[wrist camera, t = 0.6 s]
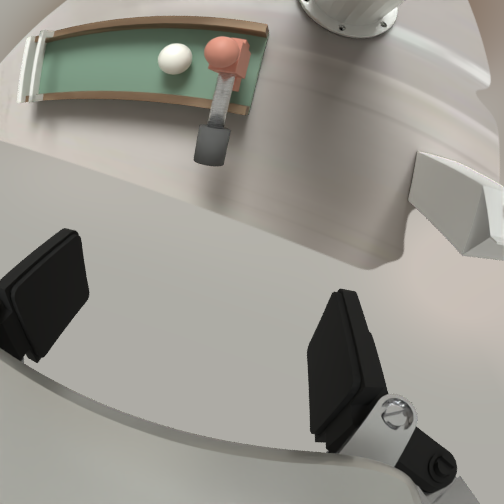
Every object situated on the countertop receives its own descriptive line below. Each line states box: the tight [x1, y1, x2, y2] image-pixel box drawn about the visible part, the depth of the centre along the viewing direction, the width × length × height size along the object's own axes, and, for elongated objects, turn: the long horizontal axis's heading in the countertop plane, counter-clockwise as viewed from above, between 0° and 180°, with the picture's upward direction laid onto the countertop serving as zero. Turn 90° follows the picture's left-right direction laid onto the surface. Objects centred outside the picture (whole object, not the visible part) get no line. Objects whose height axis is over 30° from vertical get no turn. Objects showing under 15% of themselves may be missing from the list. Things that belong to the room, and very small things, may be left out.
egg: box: [158, 43, 192, 75], centre depth 25 cm, size 4×4×4 cm
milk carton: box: [408, 151, 504, 260], centre depth 23 cm, size 7×7×19 cm
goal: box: [17, 30, 55, 103], centre depth 24 cm, size 11×6×5 cm, turn 167°
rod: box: [194, 36, 251, 166], centre depth 24 cm, size 14×3×12 cm, turn 167°
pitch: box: [25, 16, 269, 115], centre depth 26 cm, size 11×36×4 cm, turn 77°
